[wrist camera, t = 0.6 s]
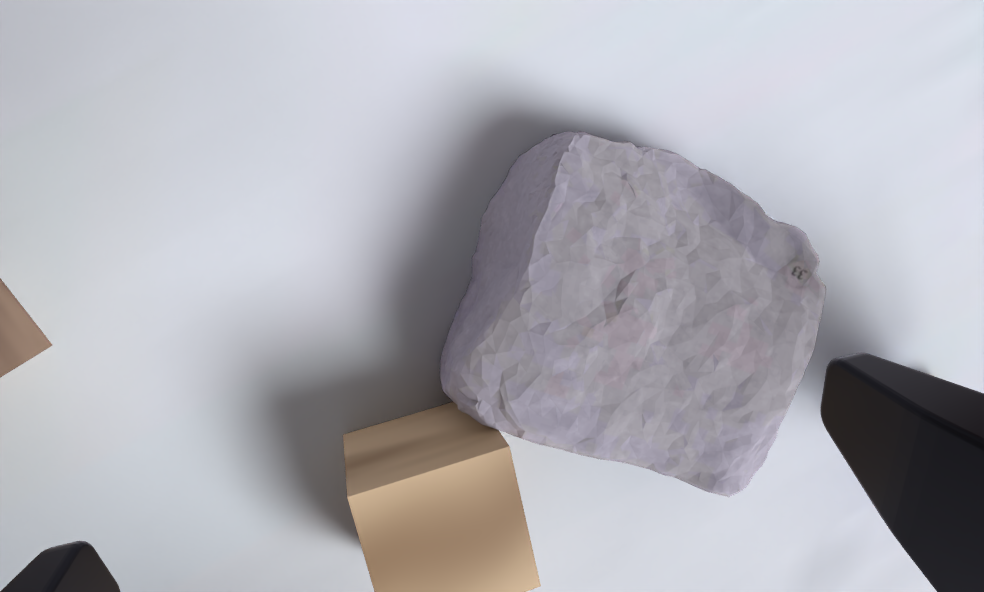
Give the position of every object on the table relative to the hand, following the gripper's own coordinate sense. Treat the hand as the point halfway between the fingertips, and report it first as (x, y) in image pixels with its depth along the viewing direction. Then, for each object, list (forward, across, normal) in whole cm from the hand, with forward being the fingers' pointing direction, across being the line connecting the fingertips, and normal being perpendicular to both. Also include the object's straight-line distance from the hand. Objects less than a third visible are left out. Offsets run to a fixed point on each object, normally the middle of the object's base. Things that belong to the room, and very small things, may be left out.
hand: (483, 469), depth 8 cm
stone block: (+14, -6, +7) cm, 16 cm away
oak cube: (+11, +2, +10) cm, 15 cm away
